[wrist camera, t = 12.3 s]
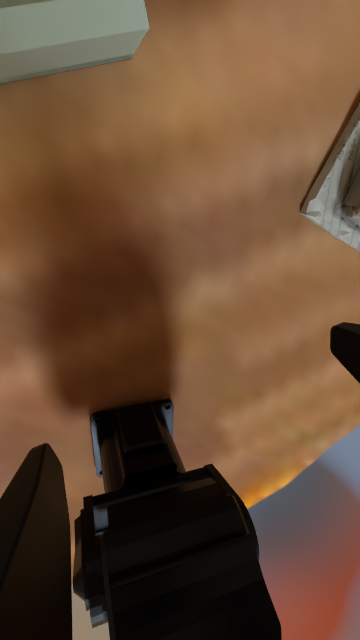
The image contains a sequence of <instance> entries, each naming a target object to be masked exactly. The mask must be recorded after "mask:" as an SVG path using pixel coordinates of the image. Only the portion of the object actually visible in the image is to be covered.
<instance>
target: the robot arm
mask: <svg viewBox="0 0 360 640" xmlns="http://www.w3.org/2000/svg"><path fill="white" fill-rule="evenodd" d="M330 349H331V352H332V354H333V355H334V356H335V357H336V358H337V359H338V360H339V362H340V363H341V364H342V365H343V366H344V367H345V368H346V369H347V370H348V371H349V372H350V373H351V375H352V376H353V377H354V378H355V379H356V380H357V381H358V382H359V383H360V324H353V323H347V322H343V323H340V324H337V325H335V326H333V327H332V328H331V333H330ZM166 405H168V406H167V407H165V406H166ZM173 412H174V405H173V403H172V401H171V400H170V399H165V400H159V401H154V402H148V403H143V404H138V405H132V406H127V407H122V408H116V409H111V410H106V411H100V412H96V413H94V414H92V415H91V428H92V437H93V446H94V456H95V465H96V474H97V476H98V477H103V482H104V490H105V493H104V494H100V495H96V496H93V497H92V495H90V496H86V497H83V500H84V509H82V510H81V515H80V516H79V517H78V518H77V519H76V520H75V521H74V522H75V557H74V570H73V591H74V593H75V594H76V595H78V596H79V597H80V598H82V599H83V600H84V601H85V605H86V610H87V611H88V610H90V615H91V623H92V628H94V627H97V626H99V625H102V624H104V623H107V622H108V624H109V634H110V640H281V625H280V622H279V619H278V617H277V614H276V611H275V608H274V606H273V603H272V601H271V598H270V595H269V593H268V590H267V587H266V584H265V581H264V578H263V575H262V572H261V568H260V565H259V545H258V540H257V535H256V531H255V528H254V525H253V522H252V519H251V517H250V515H249V512H248V510H247V508H246V506H245V505H244V503H243V501H242V500H241V499H240V497H239V496H238V495H237V494H236V492H235V491H234V490H233V489H232V487H231V486H230V485H229V484H228V483H227V481H226V480H225V479H224V478H223V476H222V475H221V474H220V473H219V472H218V470H217V469H216V468H215V467H214V466H213V464H208V465H205V466H204V467H203V468H199V469H195V470H191V471H187V472H186V471H185V468H184V466H183V463H182V461H181V458H180V456H179V454H178V451H177V449H176V446H175V444H174V441H173ZM97 418H100V419H99V420H95V419H97ZM71 595H72V594H71V539H70V522H69V513H68V506H67V498H66V491H65V483H64V476H63V469H62V465H61V463H60V461H59V459H58V458H57V456H56V454H55V453H54V451H53V450H52V448H51V446H50V445H49V444H48V443H44V444H41V445H39V446H36V447H34V448H32V449H31V450H30V451H29V453H28V454H27V456H26V458H25V459H24V461H23V463H22V464H21V466H20V467H19V469H18V471H17V472H16V474H15V475H14V477H13V479H12V480H11V482H10V484H9V485H8V487H7V488H6V490H5V492H4V493H3V495H2V496H1V498H0V640H72V599H71V597H72V596H71Z"/></svg>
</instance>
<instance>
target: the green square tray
mask: <svg viewBox="0 0 360 640" xmlns="http://www.w3.org/2000/svg"><path fill="white" fill-rule="evenodd" d="M148 30H149V23H148V18H147V13H146V8H145V3H144V0H0V84H2V83H8V82H13V81H18V80H23V79H29V78H34V77H39V76H44V75H50V74H55V73H60V72H65V71H70V70H76V69H81V68H86V67H91V66H97V65H102V64H107V63H112V62H118V61H123V60H128V59H131V58H132V56H133V55H134V53H135V51H136V50H137V48H138V46H139V45H140V43H141V42H142V40H143V38H144V37H145V35H146V33H147V32H148Z"/></svg>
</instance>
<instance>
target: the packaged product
mask: <svg viewBox="0 0 360 640" xmlns="http://www.w3.org/2000/svg"><path fill="white" fill-rule="evenodd" d="M300 213H301V214H303V215H304V216H305V217H307V218H308V219H310V220H311V221H312V222H314V223H315V224H317V225H318V226H320V227H321V228H323V229H324V230H326V231H327V232H328V233H330V234H331V235H333V236H334V237H336V238H338V239H340V240H342V241H344V242H346V243H348V244H349V245H351V246H352V247H354V248H355V249H357V250H358V251H360V102H359V104H358V106H357V108H356V110H355V111H354V113H353V115H352V117H351V119H350V120H349V122H348V124H347V126H346V128H345V129H344V131H343V133H342V134H341V136H340V138H339V140H338V141H337V143H336V145H335V147H334V149H333V150H332V152H331V154H330V156H329V158H328V159H327V161H326V163H325V165H324V167H323V168H322V170H321V172H320V174H319V176H318V177H317V179H316V181H315V183H314V185H313V186H312V188H311V190H310V192H309V194H308V196H307V198H306V200H305V202H304V205H303V207H302V209H301V211H300Z"/></svg>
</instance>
